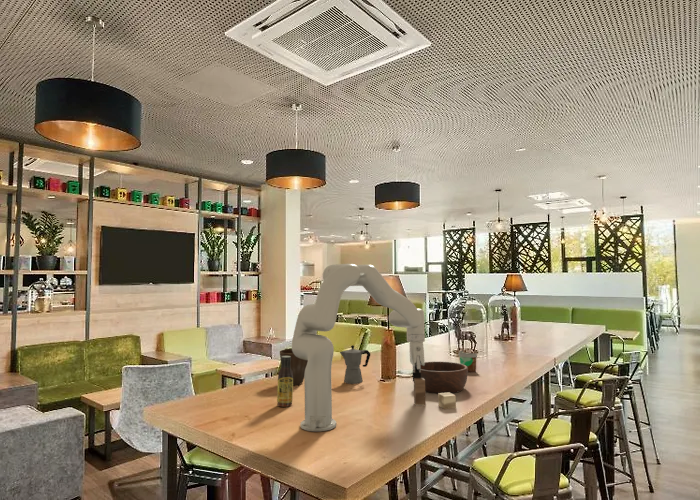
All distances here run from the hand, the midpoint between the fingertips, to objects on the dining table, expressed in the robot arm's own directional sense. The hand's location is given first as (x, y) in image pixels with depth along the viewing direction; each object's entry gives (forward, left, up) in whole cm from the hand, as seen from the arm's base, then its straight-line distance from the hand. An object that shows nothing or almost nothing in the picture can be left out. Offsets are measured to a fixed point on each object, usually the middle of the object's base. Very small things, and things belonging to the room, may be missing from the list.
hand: (416, 381), depth 191 cm
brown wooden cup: (+35, +55, -8) cm, 66 cm away
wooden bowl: (+19, -14, -8) cm, 25 cm away
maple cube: (-11, -10, -8) cm, 17 cm away
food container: (+57, -36, -8) cm, 68 cm away
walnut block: (-6, 0, -8) cm, 10 cm away
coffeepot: (+36, +25, -8) cm, 44 cm away
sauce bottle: (-4, +55, -8) cm, 56 cm away
